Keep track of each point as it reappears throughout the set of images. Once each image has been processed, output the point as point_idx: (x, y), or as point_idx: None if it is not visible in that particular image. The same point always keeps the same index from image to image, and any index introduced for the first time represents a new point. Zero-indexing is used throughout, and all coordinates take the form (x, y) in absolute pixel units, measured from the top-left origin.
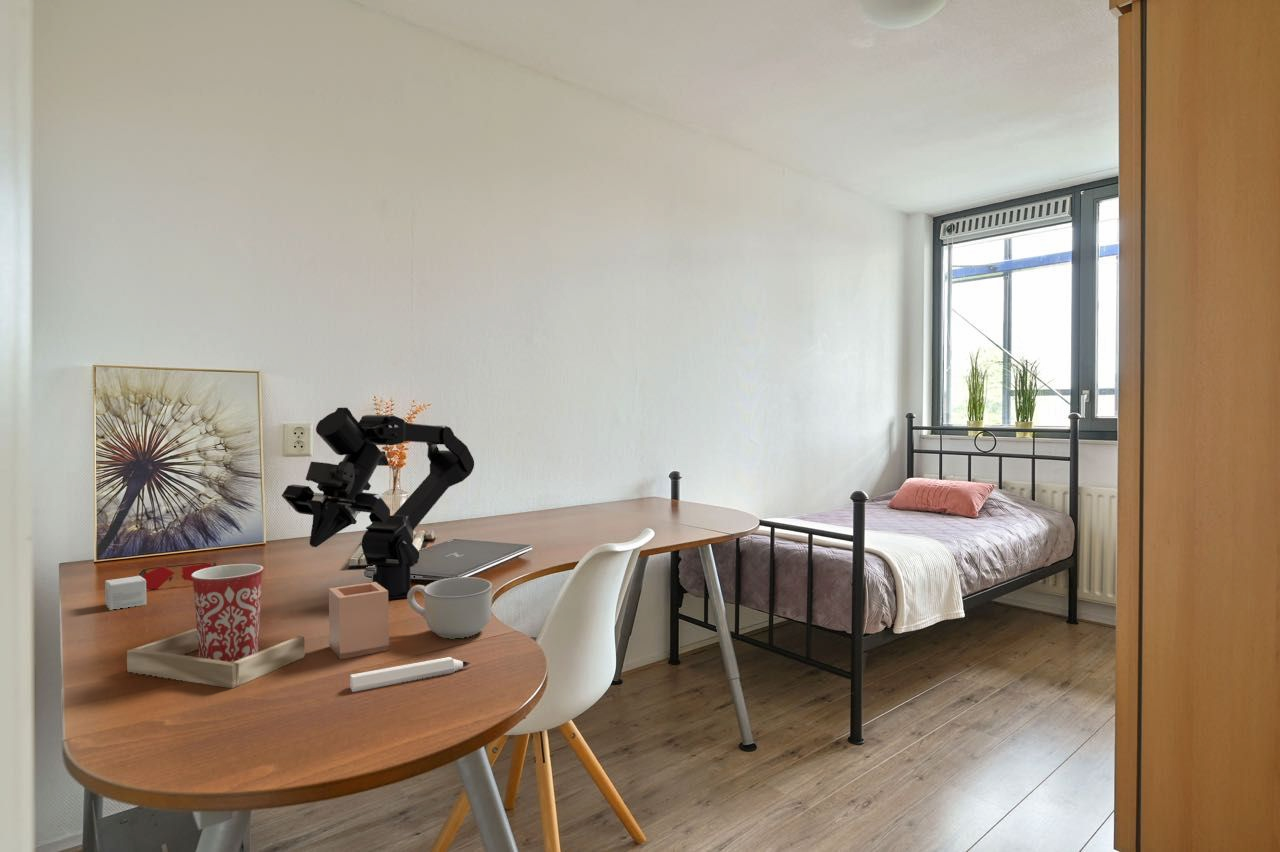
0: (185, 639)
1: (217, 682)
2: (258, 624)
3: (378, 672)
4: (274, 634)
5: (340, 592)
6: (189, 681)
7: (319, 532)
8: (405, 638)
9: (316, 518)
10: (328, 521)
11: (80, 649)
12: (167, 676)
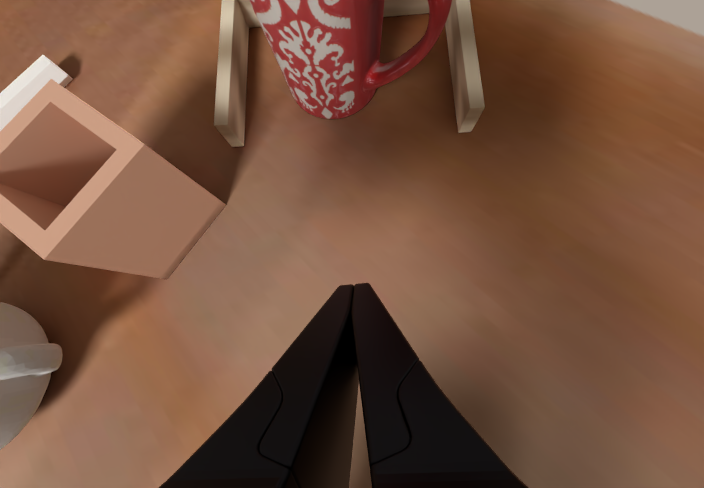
0: (459, 63)
1: None
2: (276, 55)
3: (12, 82)
4: (396, 224)
5: (82, 122)
6: None
7: (315, 327)
8: (107, 299)
9: (411, 421)
10: (240, 414)
11: (666, 33)
12: None
